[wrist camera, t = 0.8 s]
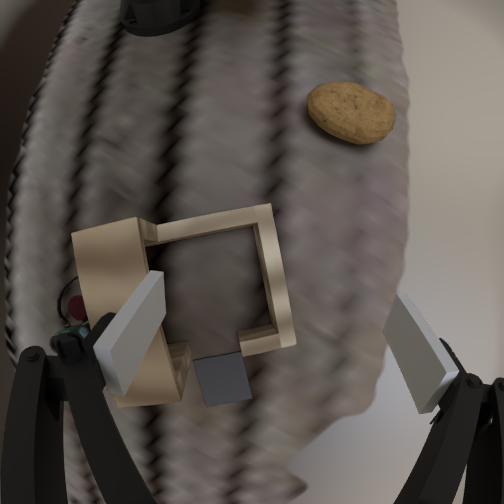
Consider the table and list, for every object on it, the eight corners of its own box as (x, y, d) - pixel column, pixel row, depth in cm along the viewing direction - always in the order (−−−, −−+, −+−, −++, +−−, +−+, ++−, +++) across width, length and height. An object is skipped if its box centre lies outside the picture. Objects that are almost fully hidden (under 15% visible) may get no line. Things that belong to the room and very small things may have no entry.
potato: (298, 88, 41) (312, 61, 33) (375, 107, 43) (398, 87, 35) (296, 141, 41) (313, 120, 33) (378, 157, 43) (405, 143, 35)
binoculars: (74, 264, 28) (105, 349, 28) (108, 267, 39) (134, 332, 38) (23, 290, 27) (51, 368, 27) (63, 289, 38) (86, 350, 37)
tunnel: (117, 238, 38) (71, 233, 24) (264, 208, 40) (288, 187, 26) (146, 360, 38) (117, 407, 24) (287, 333, 41) (320, 371, 27)
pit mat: (193, 360, 39) (193, 360, 39) (241, 350, 40) (241, 351, 40) (206, 405, 40) (206, 406, 39) (252, 397, 40) (252, 398, 40)
